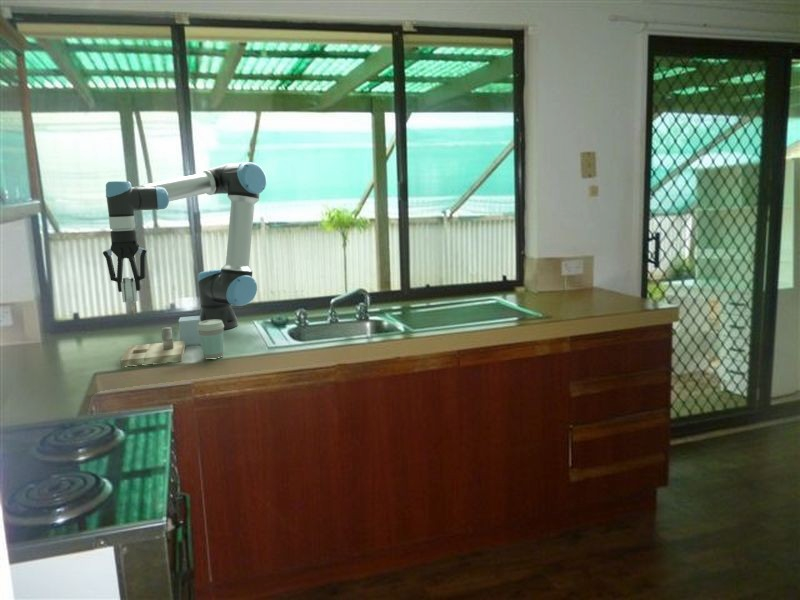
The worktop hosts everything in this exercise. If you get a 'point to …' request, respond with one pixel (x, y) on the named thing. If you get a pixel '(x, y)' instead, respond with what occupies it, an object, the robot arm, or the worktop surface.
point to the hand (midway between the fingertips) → (130, 300)
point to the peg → (129, 296)
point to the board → (155, 351)
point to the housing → (189, 330)
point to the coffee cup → (211, 337)
